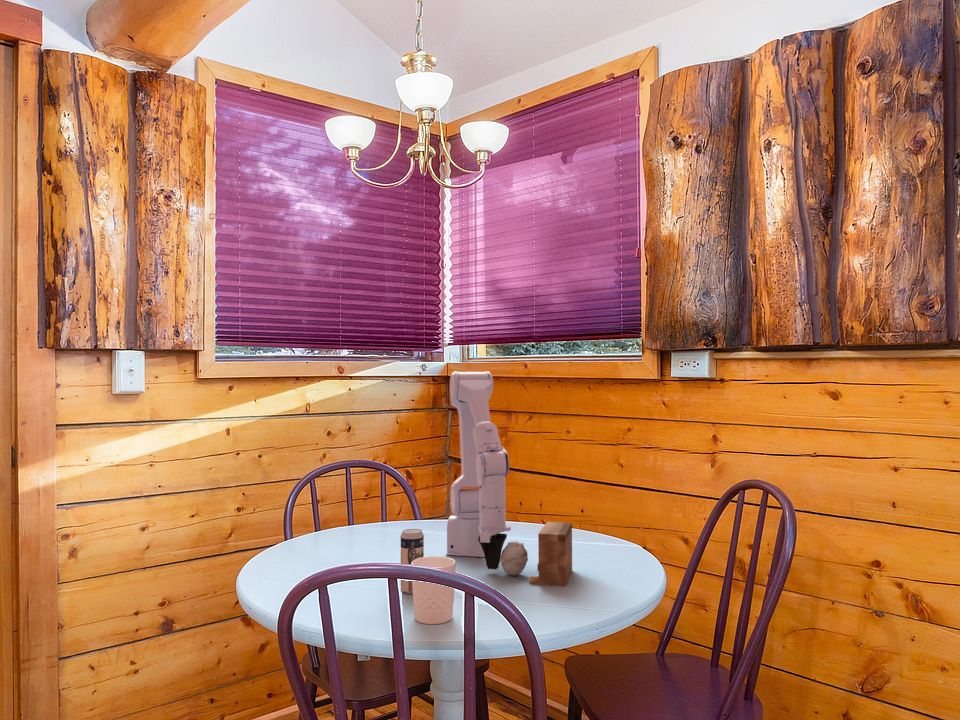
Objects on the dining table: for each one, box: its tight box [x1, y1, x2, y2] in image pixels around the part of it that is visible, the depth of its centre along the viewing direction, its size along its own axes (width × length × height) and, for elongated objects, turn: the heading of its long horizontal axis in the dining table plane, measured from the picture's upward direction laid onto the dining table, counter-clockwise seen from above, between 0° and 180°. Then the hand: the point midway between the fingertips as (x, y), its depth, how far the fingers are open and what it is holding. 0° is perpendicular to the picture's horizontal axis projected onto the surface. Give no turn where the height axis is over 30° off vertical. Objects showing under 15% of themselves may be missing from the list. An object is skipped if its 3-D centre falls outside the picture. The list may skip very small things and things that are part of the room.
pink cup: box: [411, 555, 456, 625], centre depth 127 cm, size 8×8×10 cm
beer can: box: [399, 528, 425, 595], centre depth 143 cm, size 5×5×12 cm
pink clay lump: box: [500, 541, 529, 577], centre depth 154 cm, size 6×7×7 cm
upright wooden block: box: [529, 521, 573, 587], centre depth 152 cm, size 8×12×10 cm, turn 166°
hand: (492, 568), depth 155 cm, fingers closed, pressing on pink clay lump
